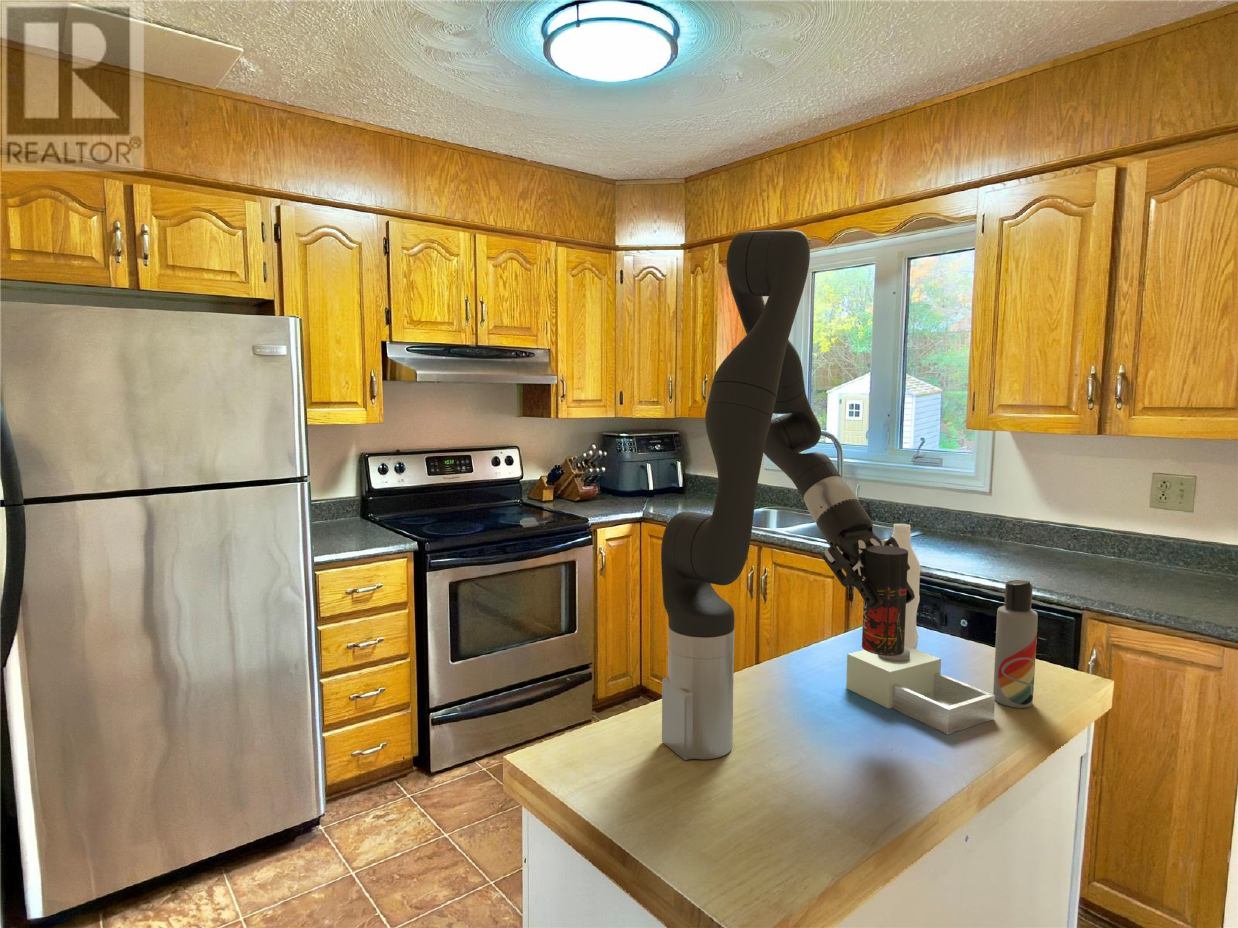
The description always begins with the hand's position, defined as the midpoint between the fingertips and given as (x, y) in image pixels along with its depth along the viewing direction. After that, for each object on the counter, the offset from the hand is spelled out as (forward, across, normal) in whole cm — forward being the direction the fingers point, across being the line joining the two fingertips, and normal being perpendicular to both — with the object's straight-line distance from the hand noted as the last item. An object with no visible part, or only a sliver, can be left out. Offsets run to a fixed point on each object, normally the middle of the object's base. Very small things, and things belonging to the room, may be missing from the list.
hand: (894, 603), depth 104 cm
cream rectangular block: (+7, +12, +20) cm, 24 cm away
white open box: (+13, +12, +14) cm, 22 cm away
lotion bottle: (+16, +26, +12) cm, 32 cm away
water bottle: (-1, +27, +29) cm, 39 cm away
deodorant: (+4, 0, +6) cm, 8 cm away
